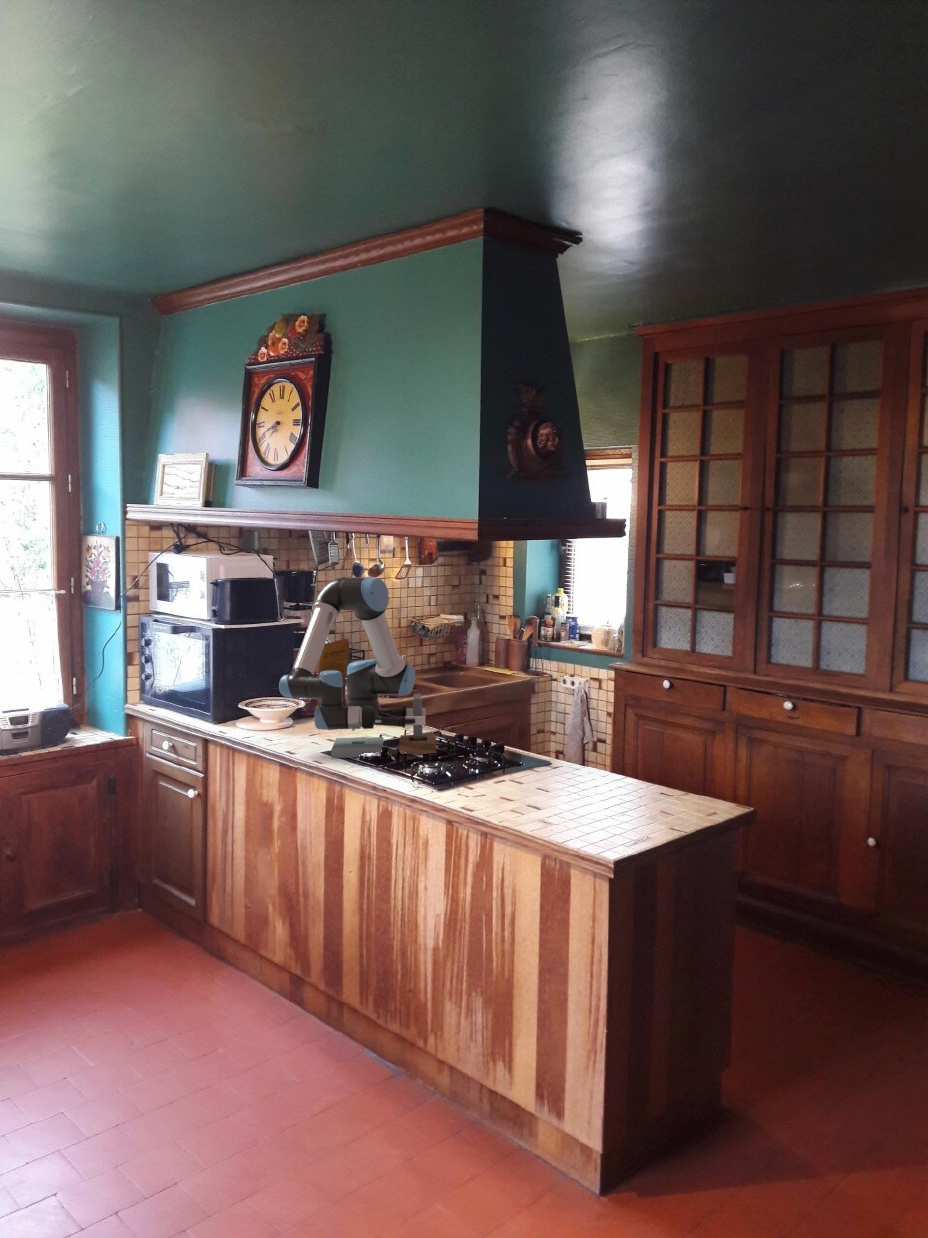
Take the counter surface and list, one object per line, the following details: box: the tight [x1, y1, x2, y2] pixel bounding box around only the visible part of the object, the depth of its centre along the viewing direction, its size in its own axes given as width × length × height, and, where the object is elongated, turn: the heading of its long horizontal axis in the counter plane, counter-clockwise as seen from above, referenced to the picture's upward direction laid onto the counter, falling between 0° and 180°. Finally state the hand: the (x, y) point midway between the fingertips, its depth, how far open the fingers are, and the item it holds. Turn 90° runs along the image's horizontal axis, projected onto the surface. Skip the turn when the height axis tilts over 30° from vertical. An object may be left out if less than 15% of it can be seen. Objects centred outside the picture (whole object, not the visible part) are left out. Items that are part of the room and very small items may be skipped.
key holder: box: [399, 734, 437, 754], centre depth 332 cm, size 12×12×4 cm
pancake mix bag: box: [317, 638, 350, 707], centre depth 408 cm, size 7×19×28 cm, turn 142°
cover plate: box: [331, 736, 385, 759], centre depth 332 cm, size 16×16×3 cm
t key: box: [412, 692, 424, 741], centre depth 331 cm, size 10×3×18 cm, turn 2°
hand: (425, 716), depth 331 cm, fingers open, 13 cm apart
